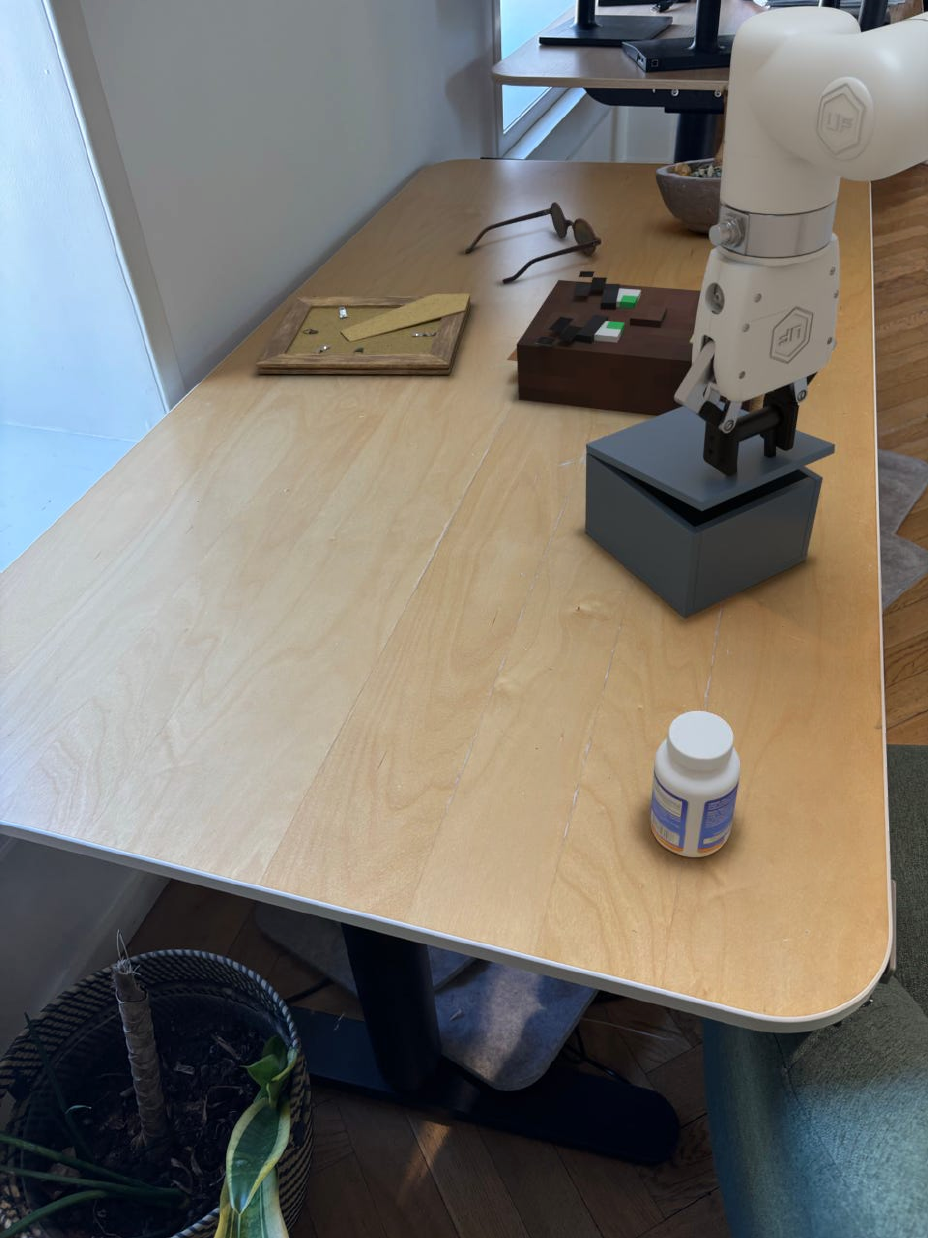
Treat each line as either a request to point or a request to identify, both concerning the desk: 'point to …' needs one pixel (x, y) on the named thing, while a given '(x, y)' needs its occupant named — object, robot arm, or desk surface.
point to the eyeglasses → (580, 228)
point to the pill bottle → (695, 785)
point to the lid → (675, 454)
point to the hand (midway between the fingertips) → (747, 453)
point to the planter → (694, 187)
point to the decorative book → (609, 347)
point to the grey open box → (700, 533)
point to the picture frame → (368, 335)
